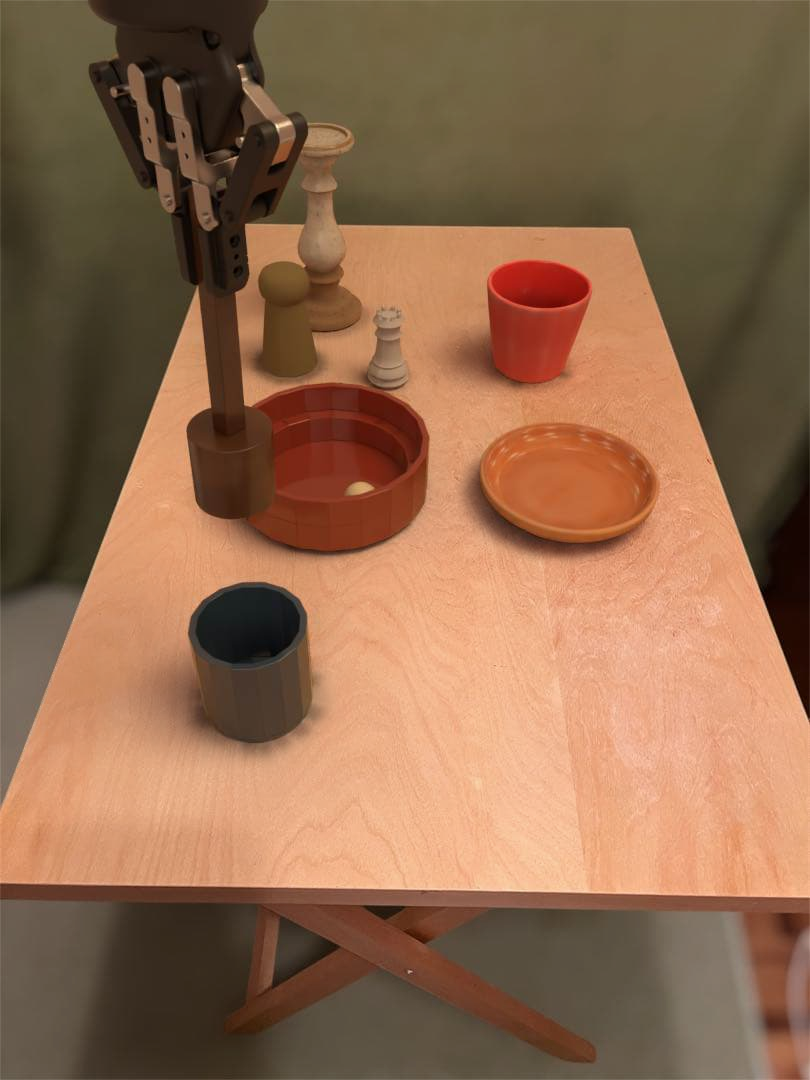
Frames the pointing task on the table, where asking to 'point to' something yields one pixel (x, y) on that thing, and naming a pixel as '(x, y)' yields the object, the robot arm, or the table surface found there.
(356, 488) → the dough ball
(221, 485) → the wooden pestle
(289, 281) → the brown peg figure
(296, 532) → the bowl
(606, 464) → the saucer
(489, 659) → the table surface
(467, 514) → the table surface
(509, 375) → the flower pot
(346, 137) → the candle holder
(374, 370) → the rook chess piece
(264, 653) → the crock
